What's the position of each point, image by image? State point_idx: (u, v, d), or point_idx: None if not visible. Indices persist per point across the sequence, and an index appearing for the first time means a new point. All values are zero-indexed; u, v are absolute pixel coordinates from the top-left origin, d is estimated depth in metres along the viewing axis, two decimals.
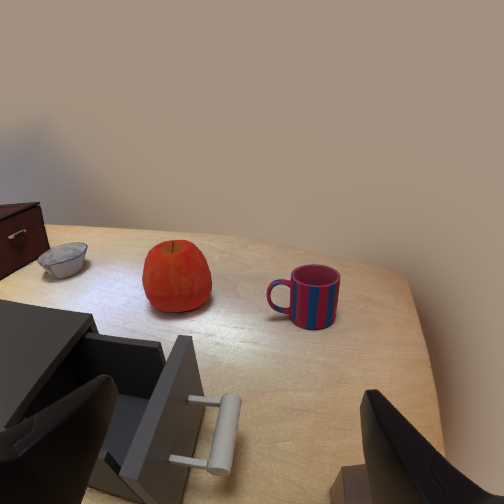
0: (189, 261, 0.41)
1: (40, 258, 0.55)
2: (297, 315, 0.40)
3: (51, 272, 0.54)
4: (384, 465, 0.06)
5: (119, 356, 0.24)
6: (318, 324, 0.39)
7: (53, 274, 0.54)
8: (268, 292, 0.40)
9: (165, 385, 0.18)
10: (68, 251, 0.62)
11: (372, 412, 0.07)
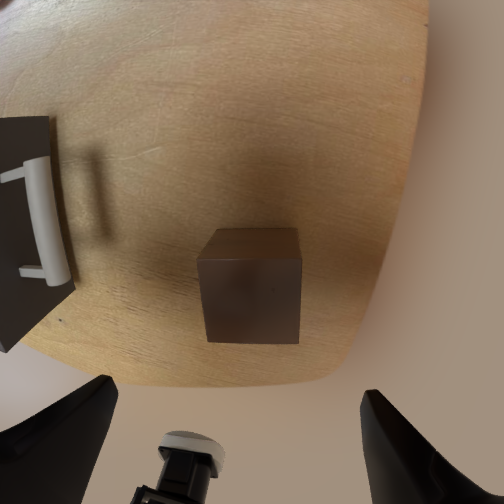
0: None
1: None
2: None
3: None
4: (384, 465, 0.06)
5: None
6: None
7: None
8: None
9: None
10: None
11: (372, 412, 0.07)
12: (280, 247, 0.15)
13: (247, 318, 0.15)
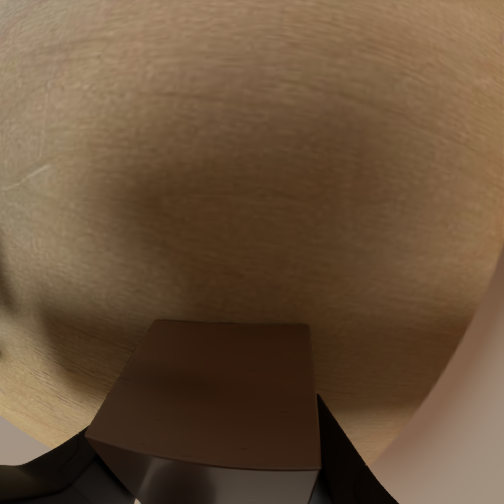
0: None
1: None
2: None
3: None
4: None
5: None
6: None
7: None
8: None
9: None
10: None
11: None
12: (272, 413, 0.06)
13: None
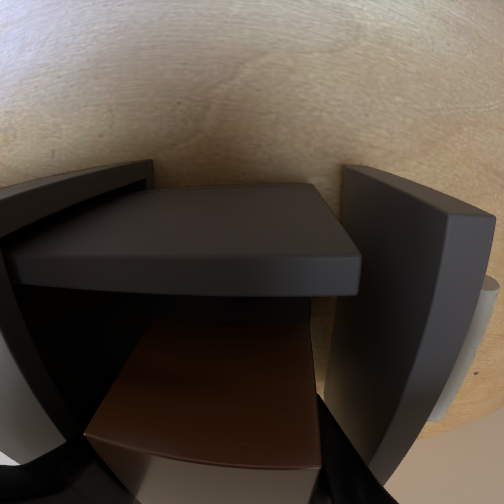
0: None
1: None
2: None
3: None
4: None
5: None
6: None
7: None
8: None
9: (405, 434, 0.06)
10: None
11: None
12: (272, 411, 0.06)
13: None
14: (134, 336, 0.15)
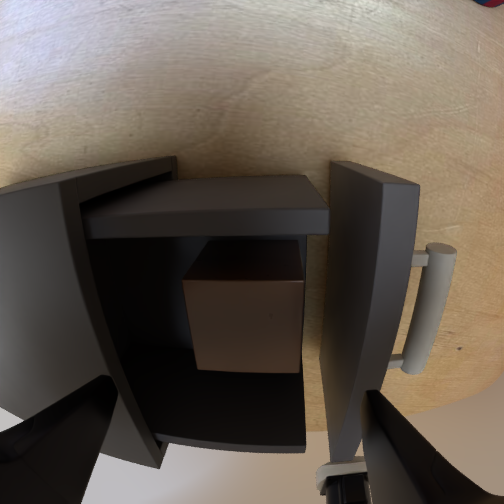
0: None
1: None
2: None
3: None
4: (384, 465, 0.06)
5: None
6: (490, 3, 0.09)
7: None
8: None
9: (379, 356, 0.09)
10: None
11: (372, 412, 0.07)
12: (279, 265, 0.13)
13: (241, 345, 0.13)
14: (155, 305, 0.19)
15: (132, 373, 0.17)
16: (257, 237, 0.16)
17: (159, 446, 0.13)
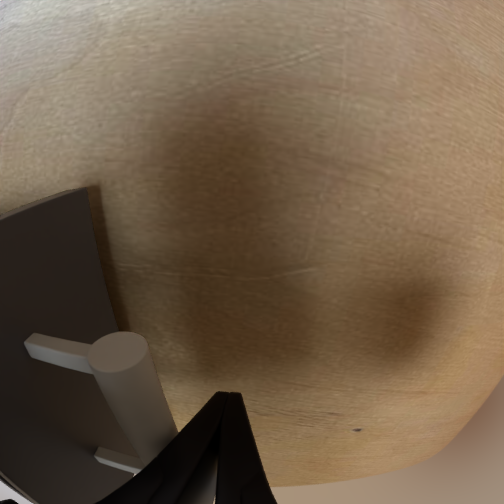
0: None
1: None
2: None
3: None
4: None
5: None
6: None
7: None
8: None
9: None
10: None
11: (222, 414, 0.08)
12: None
13: None
14: None
15: None
16: None
17: None
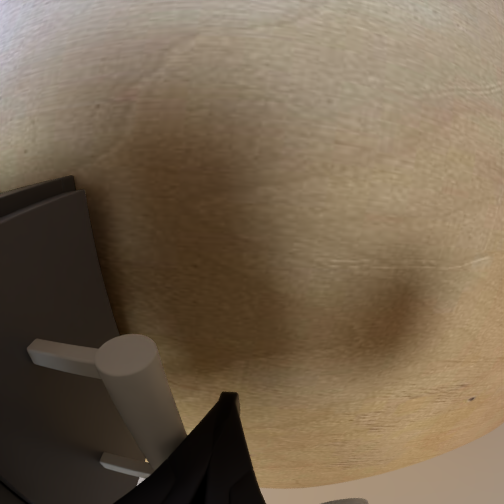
0: None
1: None
2: None
3: None
4: None
5: None
6: None
7: None
8: None
9: None
10: None
11: None
12: None
13: None
14: None
15: None
16: None
17: None
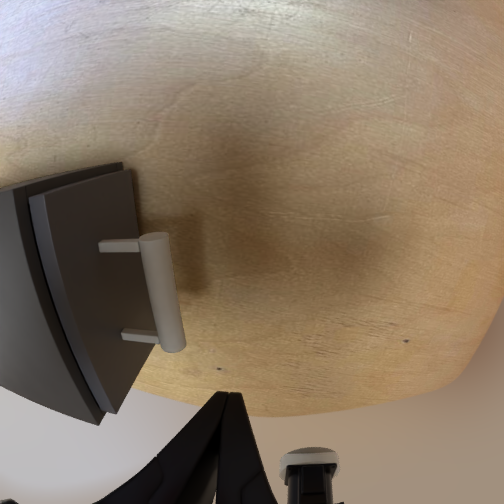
0: None
1: None
2: None
3: None
4: None
5: None
6: None
7: None
8: None
9: (65, 312, 0.13)
10: None
11: (223, 414, 0.08)
12: None
13: None
14: None
15: None
16: None
17: None
